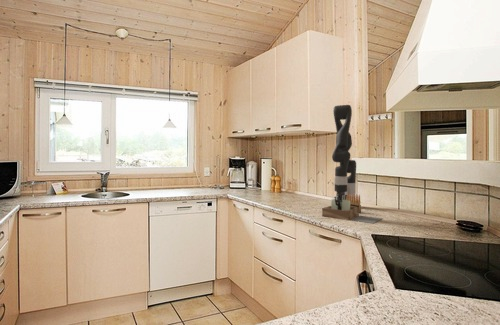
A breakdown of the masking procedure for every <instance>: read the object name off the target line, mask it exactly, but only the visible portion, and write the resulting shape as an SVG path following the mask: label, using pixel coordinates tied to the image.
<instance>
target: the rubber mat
mask: <svg viewBox="0 0 500 325" xmlns="http://www.w3.org/2000/svg"><path fill="white" fill-rule="evenodd" d="M351 220H352V221H353V222H358V221H359V222H360V223H367V224H372V225H373V224H375V223H377V222H379V221H381V220H383V218H382V217H374V216H366V215H359V216H357V217H354V218H352V219H350V221H351ZM352 221H351V222H352Z"/></svg>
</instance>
